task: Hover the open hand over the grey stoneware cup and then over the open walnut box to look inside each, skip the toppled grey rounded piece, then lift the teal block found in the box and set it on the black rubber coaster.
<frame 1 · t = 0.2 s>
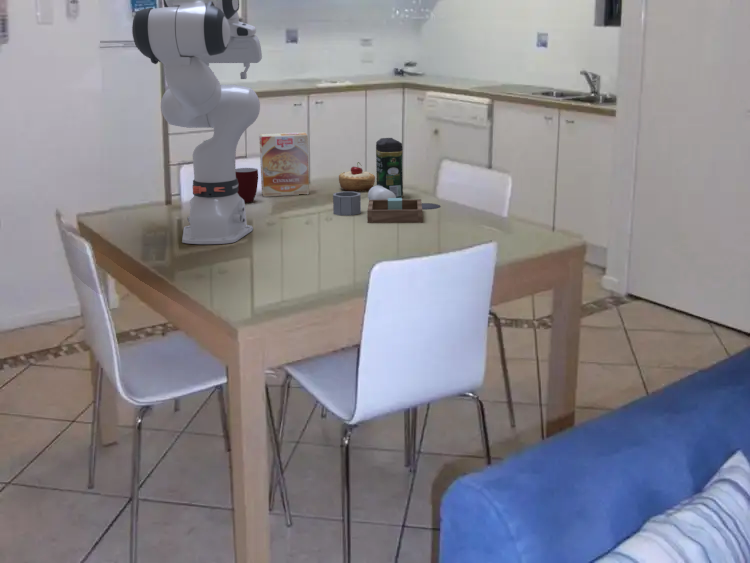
hand: (227, 78, 261), 39 cm above the table, tool pointing down, fingers open, 8 cm apart
grey rounded piece: (382, 207, 277), on the table
coffee jar: (389, 197, 293), on the table
stoneware cup: (347, 214, 268), on the table
coaster: (425, 208, 275), on the table
mug: (242, 202, 288), on the table
coffeecake box: (285, 194, 299), on the table
block: (395, 216, 262), point 1 cm above the table, touching walnut box
pastry: (356, 190, 305), on the table
walnut box: (395, 218, 262), on the table
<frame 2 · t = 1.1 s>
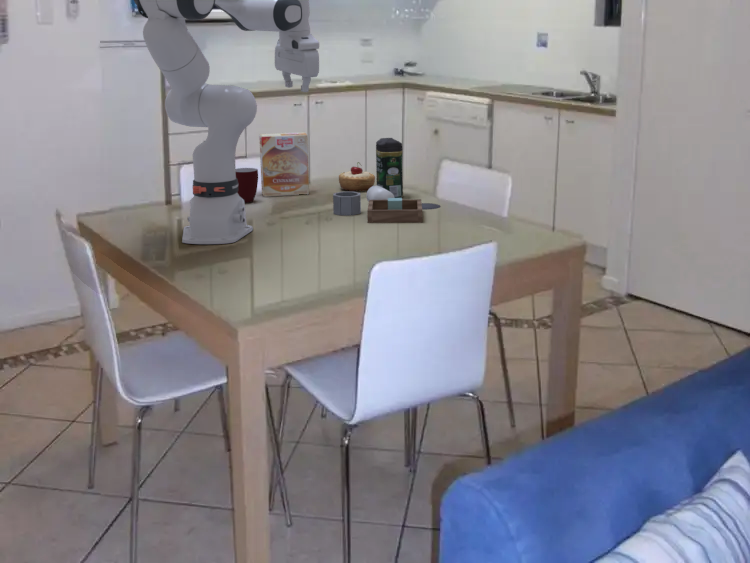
hand: (296, 89, 265), 35 cm above the table, tool pointing down, fingers open, 8 cm apart
grey rounded piece: (382, 207, 277), on the table, tilted 10°
everything else where it was.
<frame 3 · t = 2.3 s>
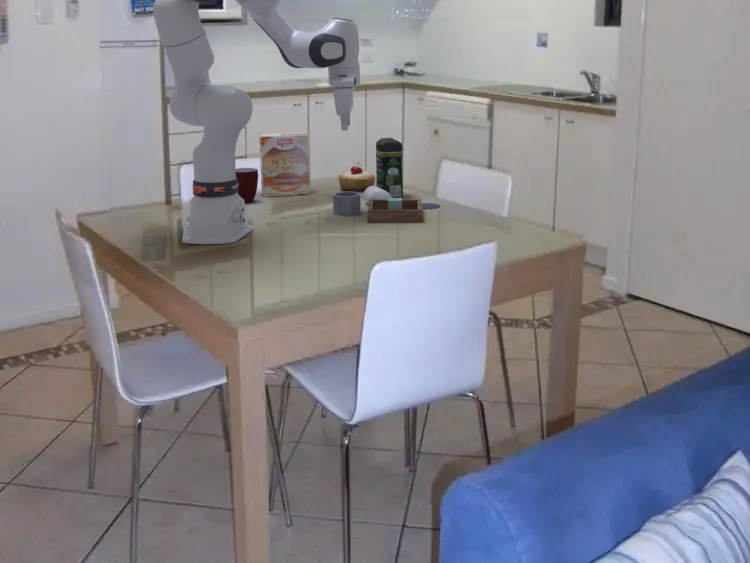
hand: (345, 128, 261), 25 cm above the table, tool pointing down, fingers open, 8 cm apart
grey rounded piece: (382, 206, 277), on the table, tilted 28°
everything else where it was.
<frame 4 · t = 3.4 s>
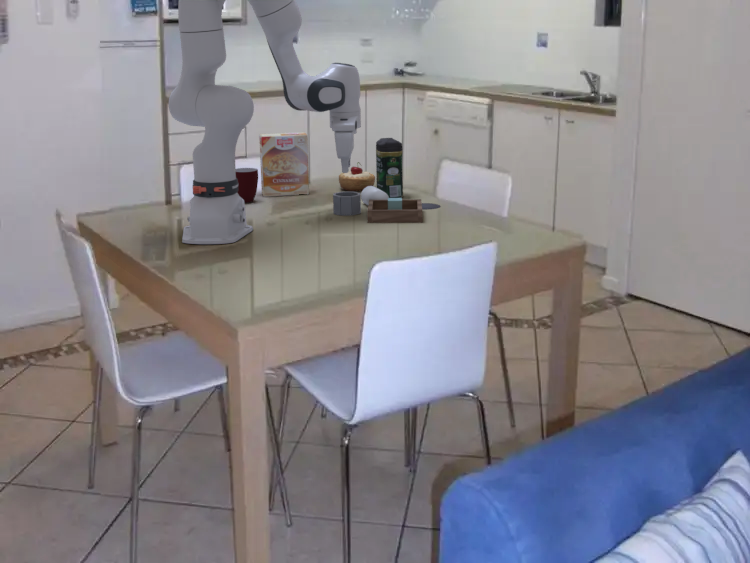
hand: (346, 169, 264), 13 cm above the table, tool pointing down, fingers open, 8 cm apart
grey rounded piece: (381, 204, 277), point 1 cm above the table, tilted 44°
everything else where it was.
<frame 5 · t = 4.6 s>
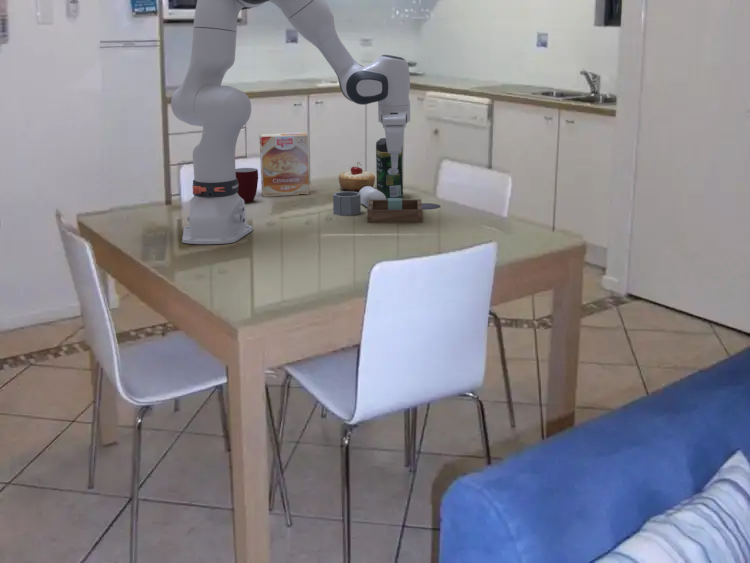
hand: (394, 165, 258), 15 cm above the table, tool pointing down, fingers open, 8 cm apart
grey rounded piece: (380, 202, 277), point 1 cm above the table, tilted 62°
everything else where it was.
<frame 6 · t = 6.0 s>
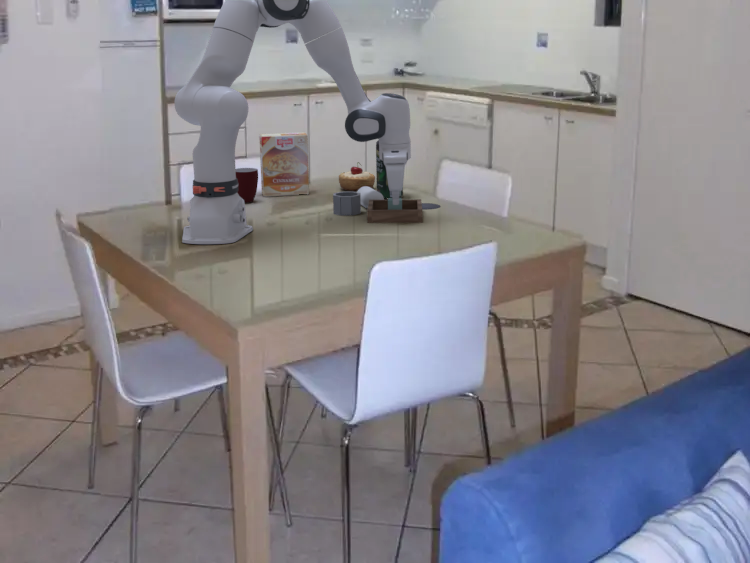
hand: (395, 200, 261), 5 cm above the table, tool pointing down, fingers open, 8 cm apart
grey rounded piece: (379, 200, 276), point 2 cm above the table, tilted 75°
everything else where it was.
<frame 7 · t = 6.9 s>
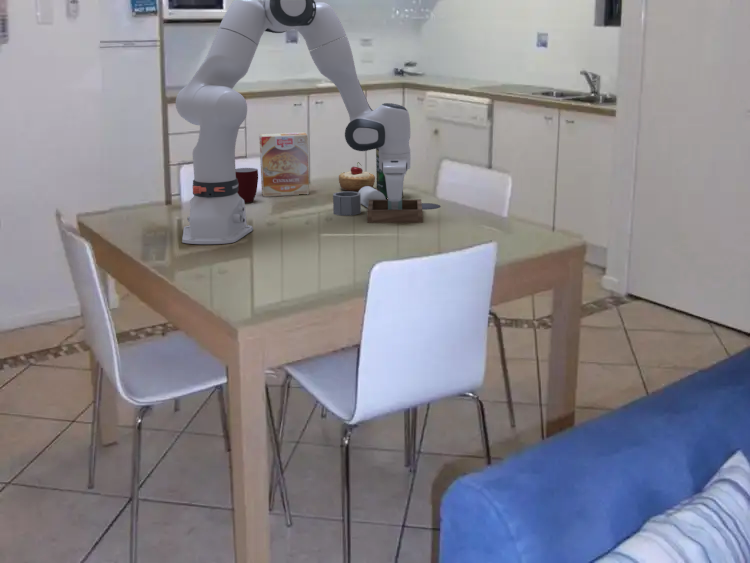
hand: (394, 210, 261), 2 cm above the table, tool pointing down, fingers closed on block, 4 cm apart
grey rounded piece: (380, 201, 277), point 2 cm above the table, tilted 66°
block: (395, 216, 262), point 1 cm above the table, touching gripper, walnut box
everything else where it was.
when the fingers open (4 cm above the table, at t = 12.1 s): block drops 1 cm, resting on coaster.
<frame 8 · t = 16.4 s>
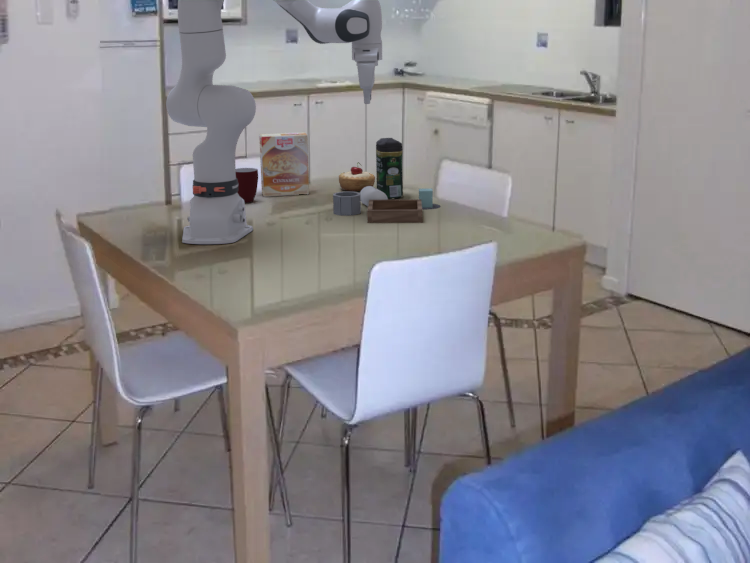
hand: (367, 102, 270), 31 cm above the table, tool pointing down, fingers open, 8 cm apart
grey rounded piece: (381, 203, 277), point 1 cm above the table, tilted 54°
block: (425, 206, 275), point 1 cm above the table, touching coaster
everything else where it was.
at the end: block inside the target area on the coaster (0.1 cm from its centre), point 0.6 cm above the coaster's base; block tilted 0°; the gripper is holding nothing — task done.
